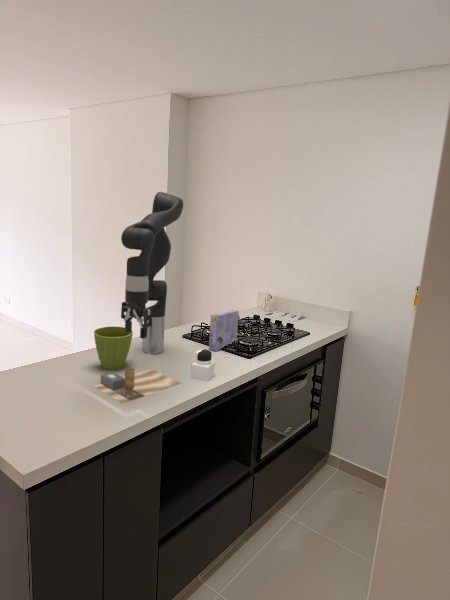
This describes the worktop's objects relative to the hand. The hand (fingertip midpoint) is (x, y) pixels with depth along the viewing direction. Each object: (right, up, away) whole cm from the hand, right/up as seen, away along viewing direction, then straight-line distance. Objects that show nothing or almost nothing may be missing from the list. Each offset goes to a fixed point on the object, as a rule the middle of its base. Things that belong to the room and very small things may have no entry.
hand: (135, 334), depth 142 cm
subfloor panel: (-1, -20, +10) cm, 23 cm away
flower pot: (-15, -16, +26) cm, 34 cm away
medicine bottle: (+22, -20, +22) cm, 37 cm away
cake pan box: (+30, -11, +65) cm, 72 cm away
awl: (-3, -22, +2) cm, 22 cm away
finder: (-10, -19, +8) cm, 23 cm away
